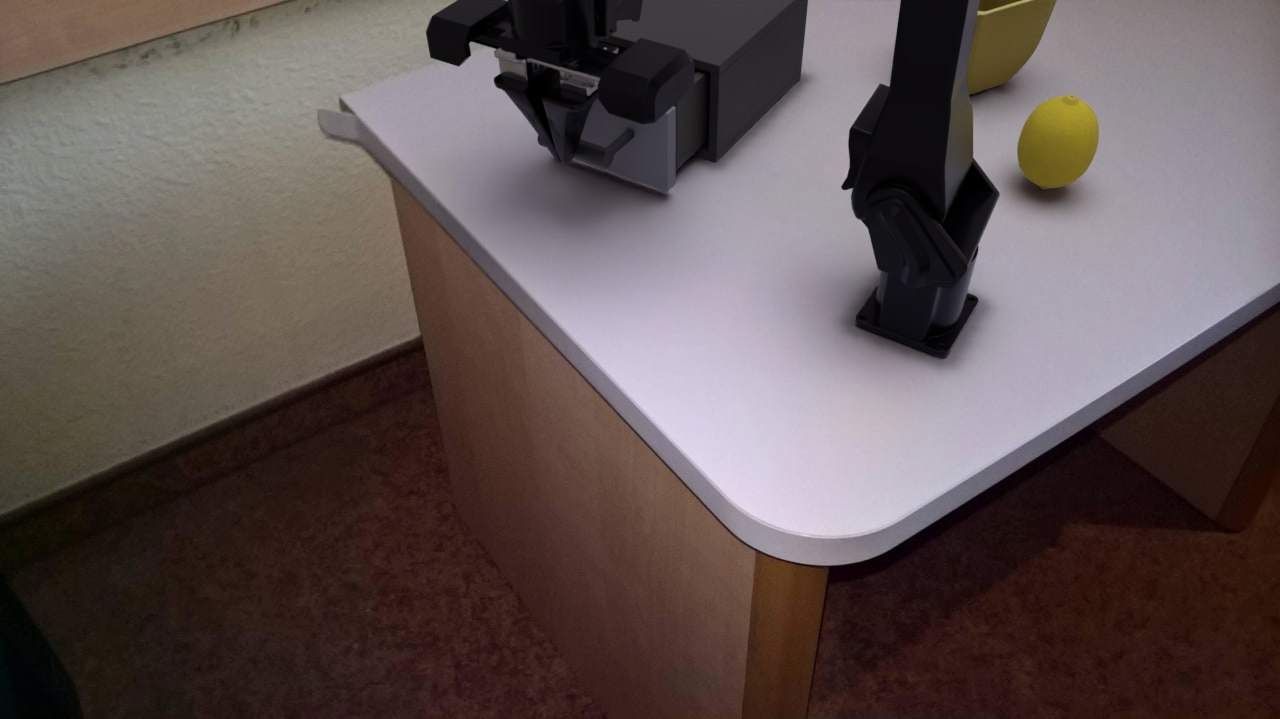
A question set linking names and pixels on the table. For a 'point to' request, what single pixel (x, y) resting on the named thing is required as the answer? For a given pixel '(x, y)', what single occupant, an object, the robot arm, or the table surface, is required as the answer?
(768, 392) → the table surface
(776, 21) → the small drawer cabinet
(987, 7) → the flower pot
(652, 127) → the pod drawer
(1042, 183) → the lemon
